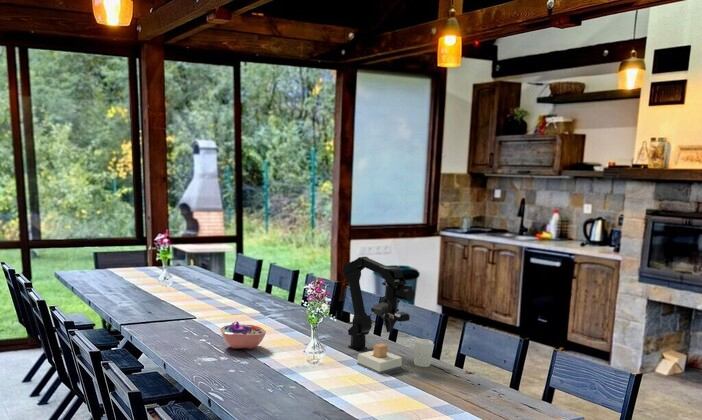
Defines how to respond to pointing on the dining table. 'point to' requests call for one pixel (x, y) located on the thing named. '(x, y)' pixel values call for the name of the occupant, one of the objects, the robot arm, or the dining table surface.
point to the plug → (380, 351)
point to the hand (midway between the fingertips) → (388, 332)
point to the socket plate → (379, 362)
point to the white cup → (422, 352)
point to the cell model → (242, 335)
